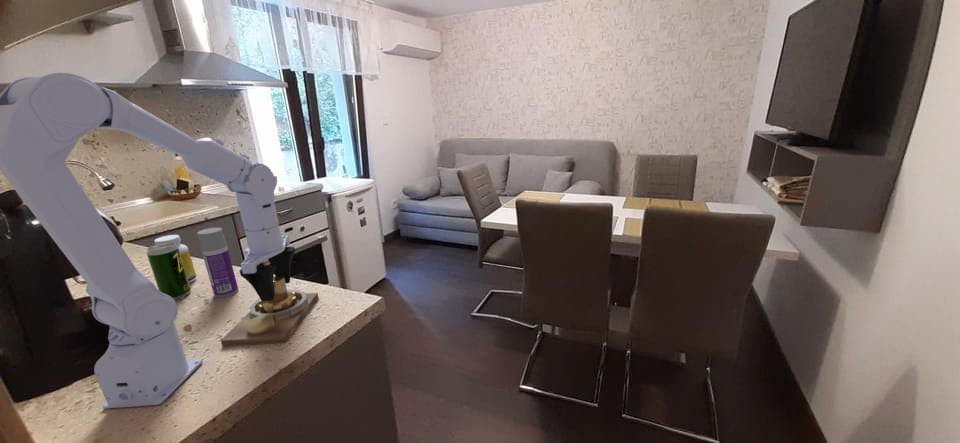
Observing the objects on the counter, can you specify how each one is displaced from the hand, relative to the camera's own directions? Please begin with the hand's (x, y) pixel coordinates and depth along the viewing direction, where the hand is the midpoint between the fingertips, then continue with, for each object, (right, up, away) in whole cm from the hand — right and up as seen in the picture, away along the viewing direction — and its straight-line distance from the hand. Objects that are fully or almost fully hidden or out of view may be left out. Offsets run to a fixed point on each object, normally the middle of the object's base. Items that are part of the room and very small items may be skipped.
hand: (276, 291), depth 74 cm
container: (-17, -3, +11) cm, 21 cm away
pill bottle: (-33, -1, +17) cm, 37 cm away
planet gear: (0, -4, +1) cm, 4 cm away
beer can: (-28, -3, +10) cm, 30 cm away
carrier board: (0, -5, -1) cm, 6 cm away
